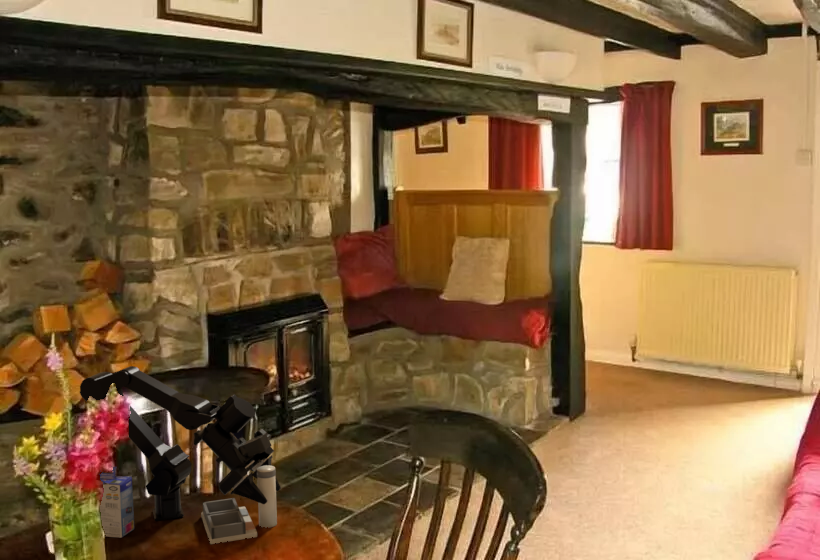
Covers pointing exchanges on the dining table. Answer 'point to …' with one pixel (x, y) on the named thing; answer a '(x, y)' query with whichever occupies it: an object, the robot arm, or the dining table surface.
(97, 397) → the robot arm
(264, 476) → the plug
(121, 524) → the ink cartridge box
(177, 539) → the dining table surface
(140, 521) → the dining table surface
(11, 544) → the dining table surface
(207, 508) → the socket board
